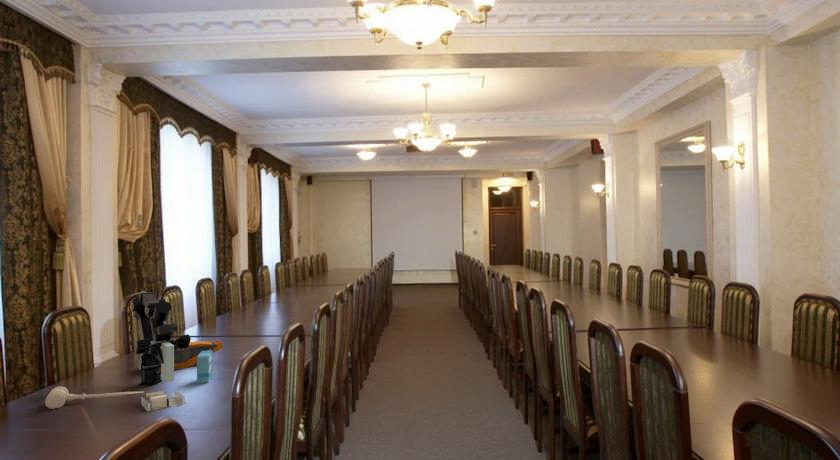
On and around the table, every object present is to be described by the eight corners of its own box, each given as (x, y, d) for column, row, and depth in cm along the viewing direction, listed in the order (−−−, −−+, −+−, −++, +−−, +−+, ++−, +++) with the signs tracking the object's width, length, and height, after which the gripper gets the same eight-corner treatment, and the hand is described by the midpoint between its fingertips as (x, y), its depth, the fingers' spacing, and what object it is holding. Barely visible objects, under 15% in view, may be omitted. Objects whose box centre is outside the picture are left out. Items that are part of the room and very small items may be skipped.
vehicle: (225, 363, 248) (225, 342, 248) (145, 374, 229) (145, 351, 229) (218, 357, 260) (218, 337, 260) (141, 367, 241) (141, 345, 241)
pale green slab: (161, 377, 196) (161, 342, 196) (168, 376, 198) (168, 342, 198) (166, 382, 190) (166, 346, 190) (173, 380, 191) (174, 345, 192)
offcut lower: (146, 403, 185) (146, 398, 186) (161, 400, 189) (161, 395, 189) (151, 409, 179) (151, 404, 179) (166, 406, 182) (166, 401, 182)
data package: (208, 385, 212) (208, 355, 212) (196, 386, 210) (196, 356, 211) (212, 377, 223) (212, 349, 223) (201, 378, 222) (201, 350, 222)
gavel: (147, 397, 204) (48, 402, 190) (148, 382, 205) (50, 385, 190) (146, 405, 195) (43, 411, 181) (148, 389, 196) (45, 393, 181)
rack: (140, 406, 185) (140, 396, 185) (179, 399, 193) (179, 389, 194) (147, 413, 178) (147, 403, 178) (187, 406, 186) (187, 396, 186)
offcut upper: (146, 398, 186) (146, 393, 186) (161, 395, 189) (161, 390, 189) (151, 404, 179) (151, 398, 179) (166, 401, 182) (166, 396, 182)
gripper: (136, 318, 193) (142, 353, 184) (189, 313, 204) (197, 346, 196) (132, 336, 199) (137, 371, 190) (183, 330, 210) (191, 363, 202)
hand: (167, 362), depth 194 cm, fingers closed on pale green slab, 2 cm apart
